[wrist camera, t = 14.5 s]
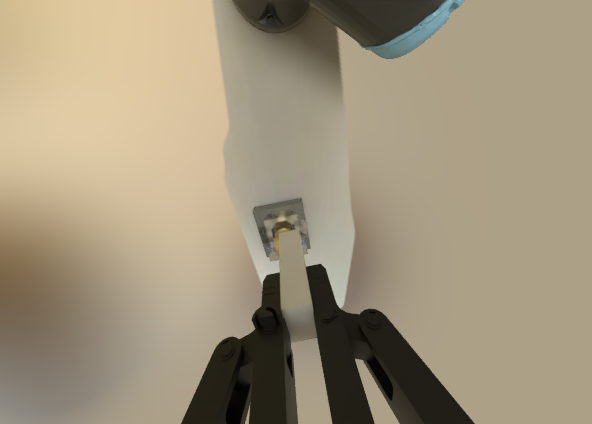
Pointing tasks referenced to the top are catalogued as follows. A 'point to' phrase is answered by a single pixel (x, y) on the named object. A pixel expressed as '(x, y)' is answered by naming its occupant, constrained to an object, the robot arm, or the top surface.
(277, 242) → the brass rounded cylinder
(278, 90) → the top surface
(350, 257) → the top surface
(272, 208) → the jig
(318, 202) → the top surface
